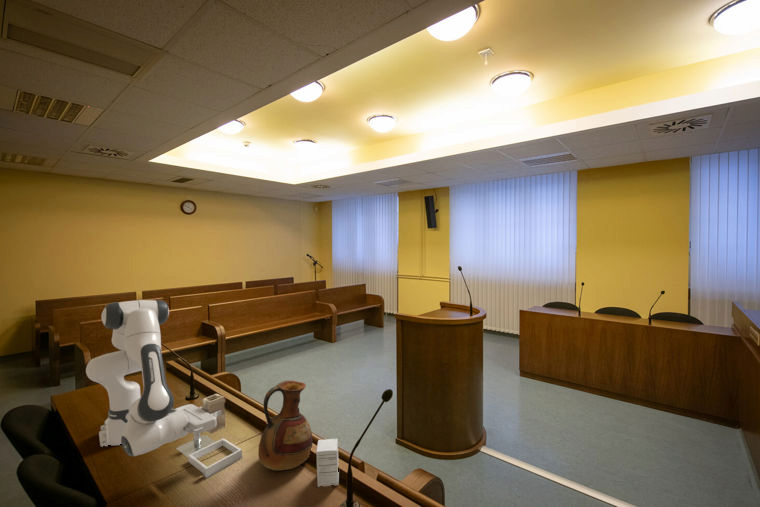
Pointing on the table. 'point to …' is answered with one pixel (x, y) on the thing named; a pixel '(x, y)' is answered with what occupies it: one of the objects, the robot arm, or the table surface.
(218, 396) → the sleeve
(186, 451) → the base plate with pin
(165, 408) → the robot arm
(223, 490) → the table surface
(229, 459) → the rectangular frame
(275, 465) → the ceramic pitcher
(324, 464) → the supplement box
